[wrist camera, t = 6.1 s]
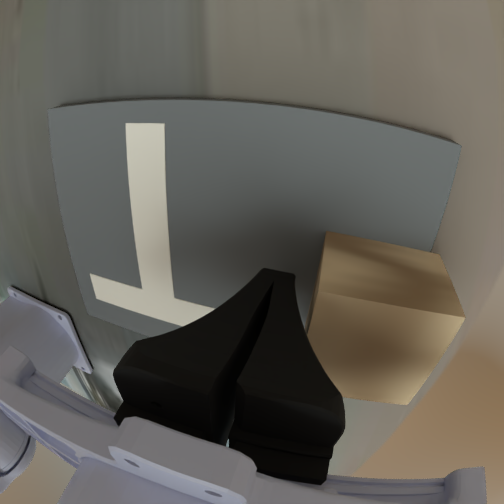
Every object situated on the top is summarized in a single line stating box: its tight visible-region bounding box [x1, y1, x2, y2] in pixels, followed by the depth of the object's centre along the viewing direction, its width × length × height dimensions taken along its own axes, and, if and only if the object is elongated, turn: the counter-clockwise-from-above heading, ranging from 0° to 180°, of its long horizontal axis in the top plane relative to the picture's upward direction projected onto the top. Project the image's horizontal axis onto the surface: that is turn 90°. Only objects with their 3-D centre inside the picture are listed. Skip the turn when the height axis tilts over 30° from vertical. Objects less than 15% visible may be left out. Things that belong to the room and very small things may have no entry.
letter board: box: [48, 98, 462, 337], centre depth 15 cm, size 19×14×1 cm
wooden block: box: [305, 231, 466, 405], centre depth 12 cm, size 5×5×4 cm
